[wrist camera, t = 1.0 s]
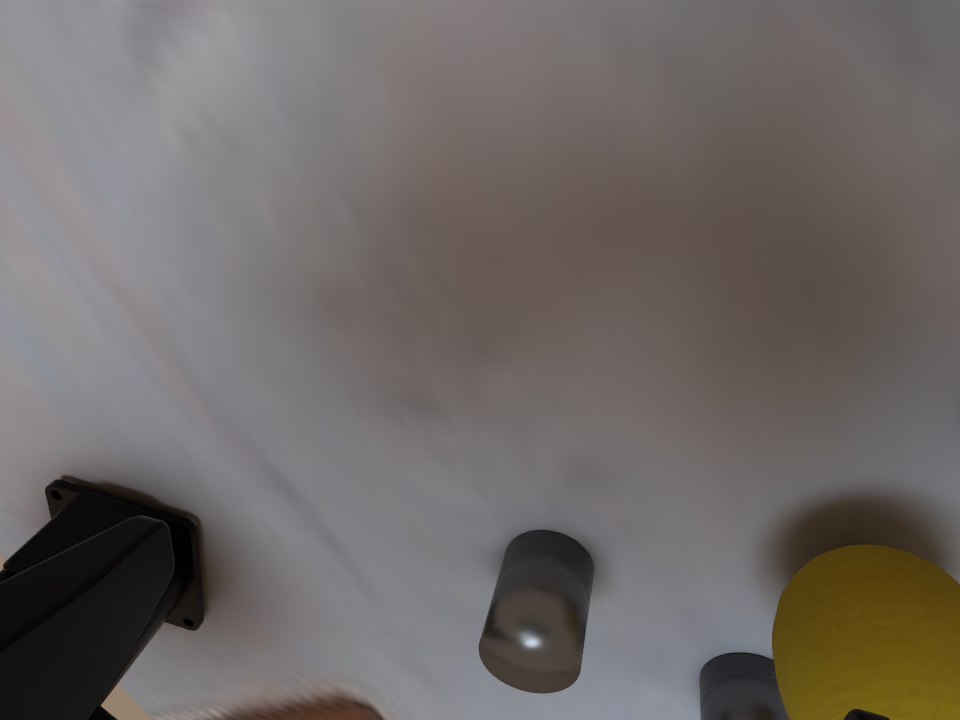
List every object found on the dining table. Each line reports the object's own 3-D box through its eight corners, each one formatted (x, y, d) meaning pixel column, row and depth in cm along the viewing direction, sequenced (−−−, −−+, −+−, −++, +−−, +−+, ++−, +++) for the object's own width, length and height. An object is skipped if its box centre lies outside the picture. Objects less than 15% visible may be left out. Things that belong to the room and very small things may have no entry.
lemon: (890, 643, 24) (974, 920, 17) (729, 582, 24) (749, 829, 17) (998, 530, 21) (1152, 810, 14) (814, 462, 21) (878, 705, 14)
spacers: (1086, 818, 26) (1148, 951, 22) (485, 633, 28) (459, 727, 25) (1532, 442, 16) (1751, 570, 13) (584, 224, 19) (564, 283, 16)
